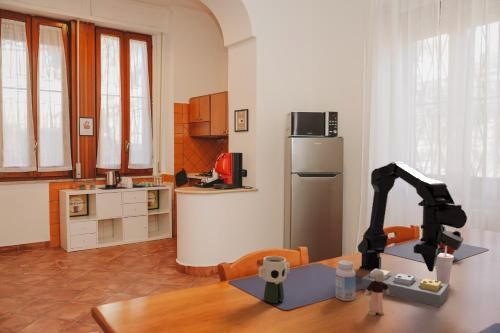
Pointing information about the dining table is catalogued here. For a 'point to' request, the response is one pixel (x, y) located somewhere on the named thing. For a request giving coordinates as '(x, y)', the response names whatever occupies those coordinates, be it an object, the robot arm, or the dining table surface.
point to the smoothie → (444, 266)
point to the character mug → (274, 277)
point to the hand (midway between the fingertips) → (430, 271)
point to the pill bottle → (345, 281)
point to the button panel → (411, 290)
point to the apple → (449, 249)
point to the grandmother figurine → (376, 293)
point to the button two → (404, 279)
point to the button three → (430, 284)
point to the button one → (386, 274)
